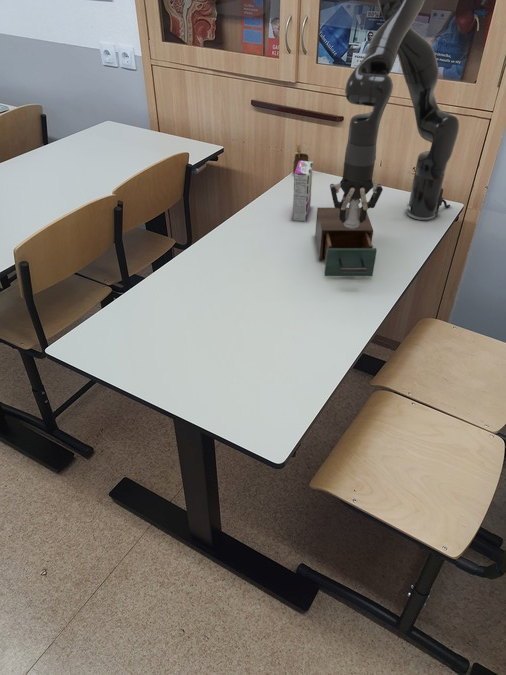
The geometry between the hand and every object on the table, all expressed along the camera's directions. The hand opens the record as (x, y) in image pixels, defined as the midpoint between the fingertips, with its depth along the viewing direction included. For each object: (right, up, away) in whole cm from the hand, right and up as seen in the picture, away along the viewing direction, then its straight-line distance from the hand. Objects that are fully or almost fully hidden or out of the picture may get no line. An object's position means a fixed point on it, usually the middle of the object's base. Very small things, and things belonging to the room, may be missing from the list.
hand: (351, 221), depth 145 cm
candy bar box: (-10, +10, +37) cm, 39 cm away
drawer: (0, -12, +8) cm, 14 cm away
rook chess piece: (0, -1, +1) cm, 1 cm away
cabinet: (0, -4, +18) cm, 19 cm away
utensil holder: (-8, +32, +64) cm, 72 cm away
